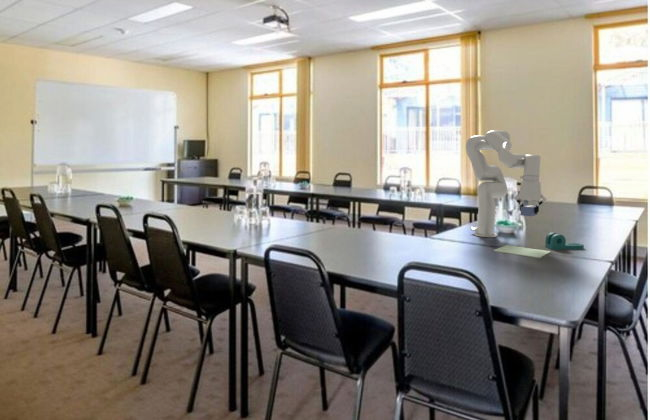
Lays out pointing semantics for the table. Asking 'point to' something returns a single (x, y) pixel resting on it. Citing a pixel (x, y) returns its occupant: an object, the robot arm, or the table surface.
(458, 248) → the table surface
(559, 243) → the bracket
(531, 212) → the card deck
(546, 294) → the table surface
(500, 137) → the robot arm
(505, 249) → the mat
